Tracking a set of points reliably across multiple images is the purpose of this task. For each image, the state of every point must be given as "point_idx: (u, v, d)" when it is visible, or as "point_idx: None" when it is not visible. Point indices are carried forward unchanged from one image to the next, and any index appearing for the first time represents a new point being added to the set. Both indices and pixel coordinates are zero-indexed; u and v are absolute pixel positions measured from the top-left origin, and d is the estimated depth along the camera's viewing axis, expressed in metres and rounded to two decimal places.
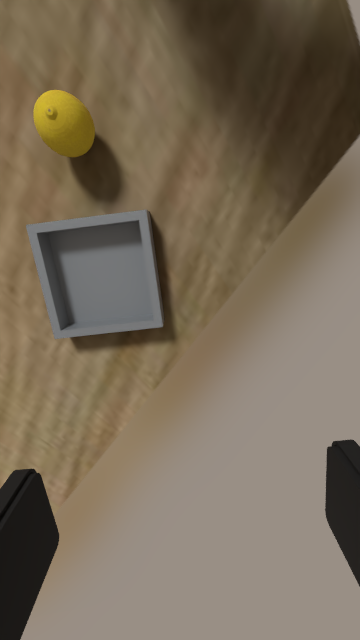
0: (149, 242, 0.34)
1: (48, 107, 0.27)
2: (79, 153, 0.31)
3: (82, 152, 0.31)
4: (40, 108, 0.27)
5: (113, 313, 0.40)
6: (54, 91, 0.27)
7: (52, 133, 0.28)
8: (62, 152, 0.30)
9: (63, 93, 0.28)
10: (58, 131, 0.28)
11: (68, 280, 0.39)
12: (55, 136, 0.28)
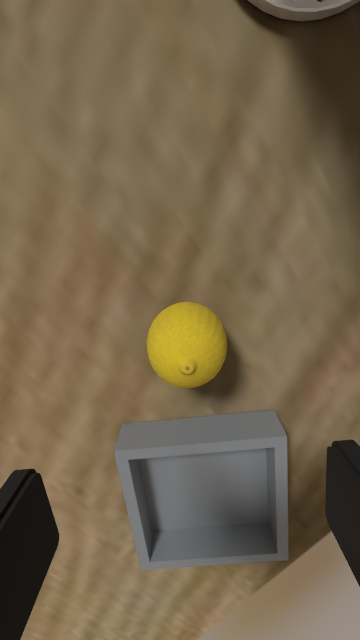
0: (285, 472, 0.24)
1: (186, 364, 0.17)
2: None
3: None
4: (169, 357, 0.17)
5: (212, 521, 0.30)
6: (189, 327, 0.17)
7: (182, 384, 0.18)
8: None
9: (202, 328, 0.18)
10: (192, 383, 0.18)
11: (156, 486, 0.29)
12: (185, 386, 0.18)
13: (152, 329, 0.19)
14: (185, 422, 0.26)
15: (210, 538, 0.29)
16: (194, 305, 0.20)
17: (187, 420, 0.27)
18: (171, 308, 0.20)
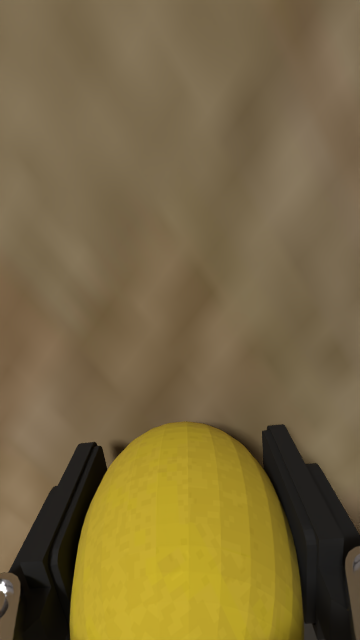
0: None
1: None
2: None
3: None
4: None
5: None
6: (194, 606, 0.05)
7: None
8: None
9: (240, 605, 0.05)
10: None
11: None
12: None
13: (85, 545, 0.07)
14: None
15: None
16: (207, 462, 0.07)
17: None
18: (142, 471, 0.07)
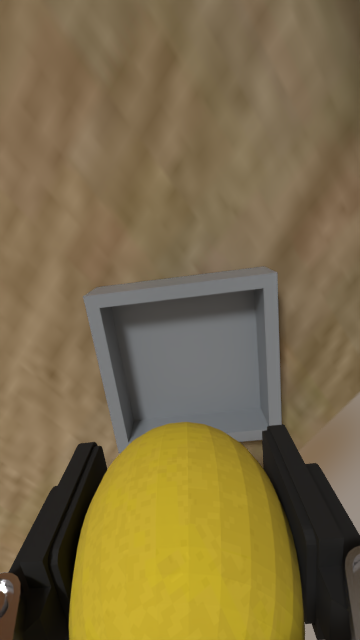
0: (276, 321, 0.22)
1: None
2: None
3: None
4: None
5: (198, 407, 0.27)
6: (194, 608, 0.05)
7: None
8: None
9: (241, 607, 0.05)
10: None
11: (136, 364, 0.26)
12: None
13: (84, 546, 0.06)
14: (165, 280, 0.24)
15: (196, 422, 0.27)
16: (206, 462, 0.07)
17: (168, 279, 0.24)
18: (142, 472, 0.07)
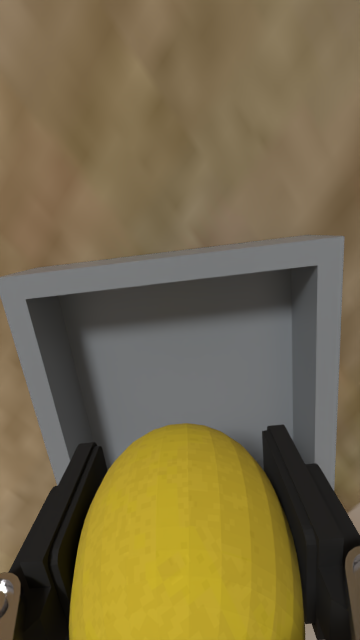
0: (336, 324, 0.12)
1: None
2: None
3: None
4: None
5: None
6: (195, 611, 0.05)
7: None
8: None
9: (241, 609, 0.05)
10: None
11: (102, 389, 0.17)
12: None
13: (84, 548, 0.06)
14: (146, 255, 0.14)
15: None
16: (207, 464, 0.07)
17: (151, 254, 0.15)
18: (142, 474, 0.07)
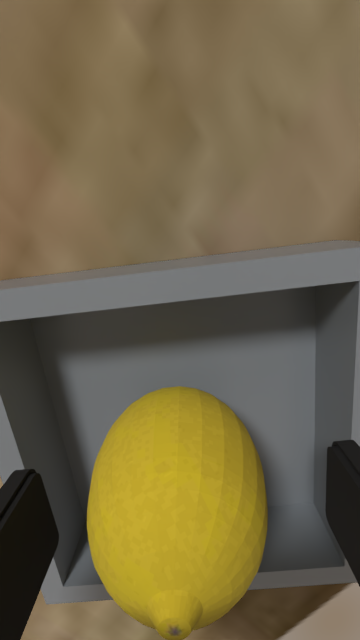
0: None
1: (172, 621, 0.06)
2: None
3: None
4: (127, 583, 0.06)
5: None
6: (180, 492, 0.07)
7: None
8: None
9: (214, 493, 0.07)
10: None
11: (84, 425, 0.14)
12: None
13: (98, 468, 0.08)
14: (136, 265, 0.12)
15: None
16: (193, 407, 0.09)
17: (143, 264, 0.12)
18: (143, 415, 0.09)
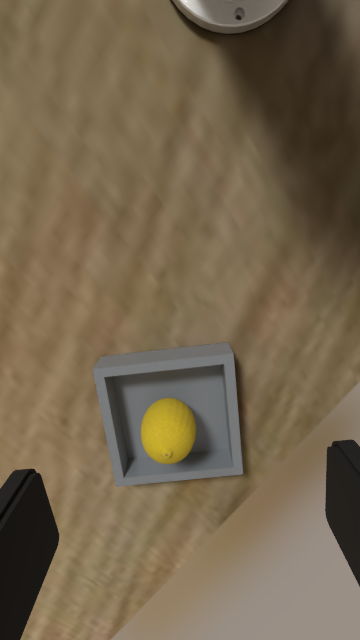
0: (234, 387, 0.29)
1: (166, 452, 0.26)
2: None
3: None
4: (155, 446, 0.26)
5: None
6: (168, 425, 0.27)
7: (163, 463, 0.27)
8: None
9: (177, 425, 0.27)
10: (170, 462, 0.27)
11: (130, 414, 0.34)
12: (166, 463, 0.27)
13: (144, 422, 0.28)
14: (153, 352, 0.32)
15: None
16: (173, 404, 0.29)
17: (156, 351, 0.32)
18: (157, 406, 0.29)
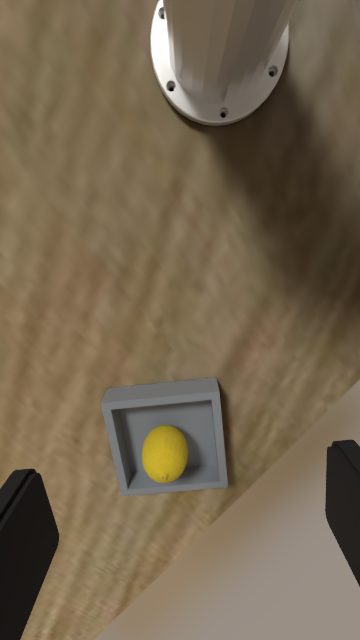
0: (220, 418, 0.35)
1: (162, 475, 0.31)
2: None
3: None
4: (153, 470, 0.32)
5: None
6: (164, 452, 0.32)
7: (160, 482, 0.33)
8: None
9: (172, 453, 0.32)
10: (166, 482, 0.33)
11: (133, 435, 0.39)
12: None
13: (145, 448, 0.34)
14: (152, 386, 0.37)
15: None
16: (169, 433, 0.34)
17: (154, 384, 0.37)
18: (156, 434, 0.34)
